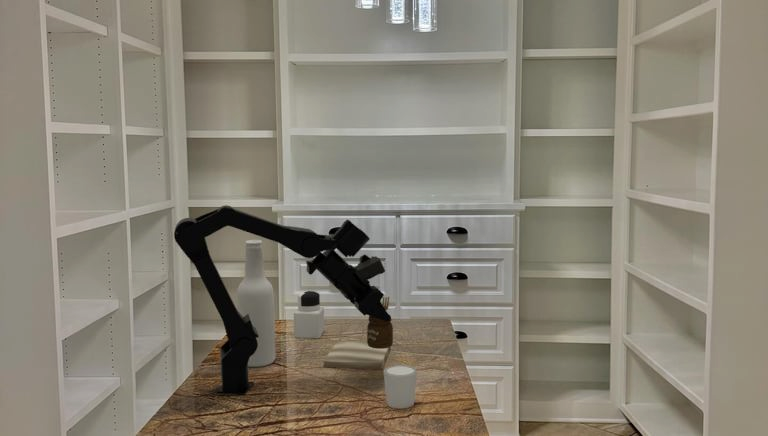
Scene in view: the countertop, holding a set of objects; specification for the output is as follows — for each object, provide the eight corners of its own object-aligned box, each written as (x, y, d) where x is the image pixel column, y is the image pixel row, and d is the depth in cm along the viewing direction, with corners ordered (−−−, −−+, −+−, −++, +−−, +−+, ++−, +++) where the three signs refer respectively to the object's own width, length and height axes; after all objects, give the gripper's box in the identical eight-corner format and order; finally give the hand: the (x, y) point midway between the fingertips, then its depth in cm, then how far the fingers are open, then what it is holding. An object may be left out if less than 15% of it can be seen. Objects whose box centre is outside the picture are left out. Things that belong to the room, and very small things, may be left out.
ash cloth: (381, 369, 158) (381, 363, 158) (323, 367, 160) (323, 361, 160) (390, 348, 174) (390, 342, 174) (337, 346, 176) (337, 341, 175)
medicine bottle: (324, 331, 190) (323, 289, 189) (319, 338, 183) (318, 295, 182) (299, 330, 191) (298, 289, 189) (294, 338, 184) (292, 295, 182)
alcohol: (239, 369, 159) (234, 244, 156) (239, 357, 168) (235, 238, 164) (276, 366, 161) (272, 242, 157) (275, 355, 169) (271, 237, 166)
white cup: (397, 394, 142) (397, 362, 142) (423, 402, 138) (423, 369, 137) (376, 404, 137) (376, 371, 136) (403, 412, 133) (403, 378, 132)
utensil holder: (385, 340, 159) (385, 290, 157) (398, 347, 153) (398, 295, 152) (362, 343, 156) (362, 293, 155) (375, 351, 150) (374, 298, 149)
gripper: (374, 252, 142) (423, 300, 146) (353, 240, 160) (397, 282, 164) (338, 291, 141) (388, 338, 145) (320, 274, 158) (366, 316, 163)
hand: (385, 316), depth 154 cm, fingers closed on utensil holder, 6 cm apart
